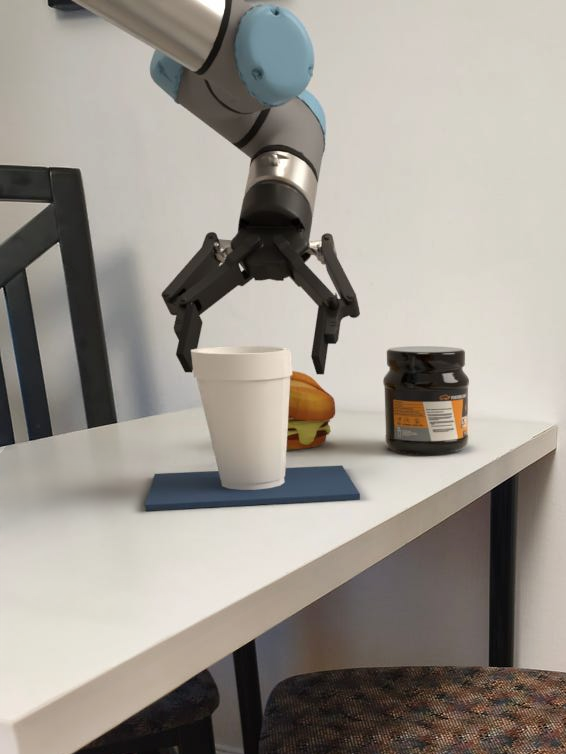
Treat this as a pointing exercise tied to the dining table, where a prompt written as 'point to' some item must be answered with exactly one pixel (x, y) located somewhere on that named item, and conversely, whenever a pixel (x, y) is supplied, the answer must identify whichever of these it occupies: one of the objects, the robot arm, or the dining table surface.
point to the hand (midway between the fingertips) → (250, 364)
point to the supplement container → (426, 400)
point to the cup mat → (210, 492)
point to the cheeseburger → (308, 412)
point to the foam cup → (246, 411)
